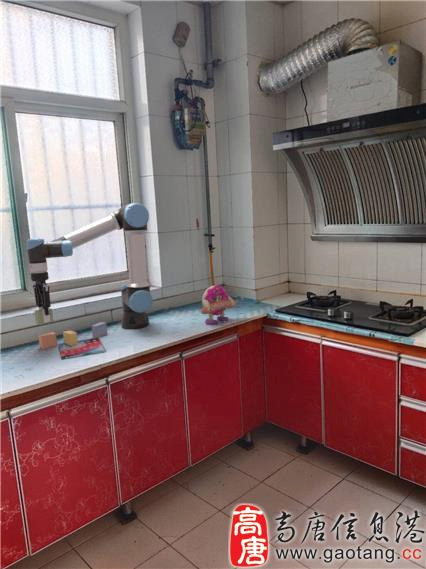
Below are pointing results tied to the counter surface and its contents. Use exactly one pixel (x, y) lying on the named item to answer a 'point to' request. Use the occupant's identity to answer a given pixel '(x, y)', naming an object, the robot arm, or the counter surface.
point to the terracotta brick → (47, 340)
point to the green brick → (39, 316)
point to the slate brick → (99, 329)
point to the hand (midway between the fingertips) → (45, 321)
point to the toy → (216, 304)
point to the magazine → (81, 348)
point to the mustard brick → (70, 338)
